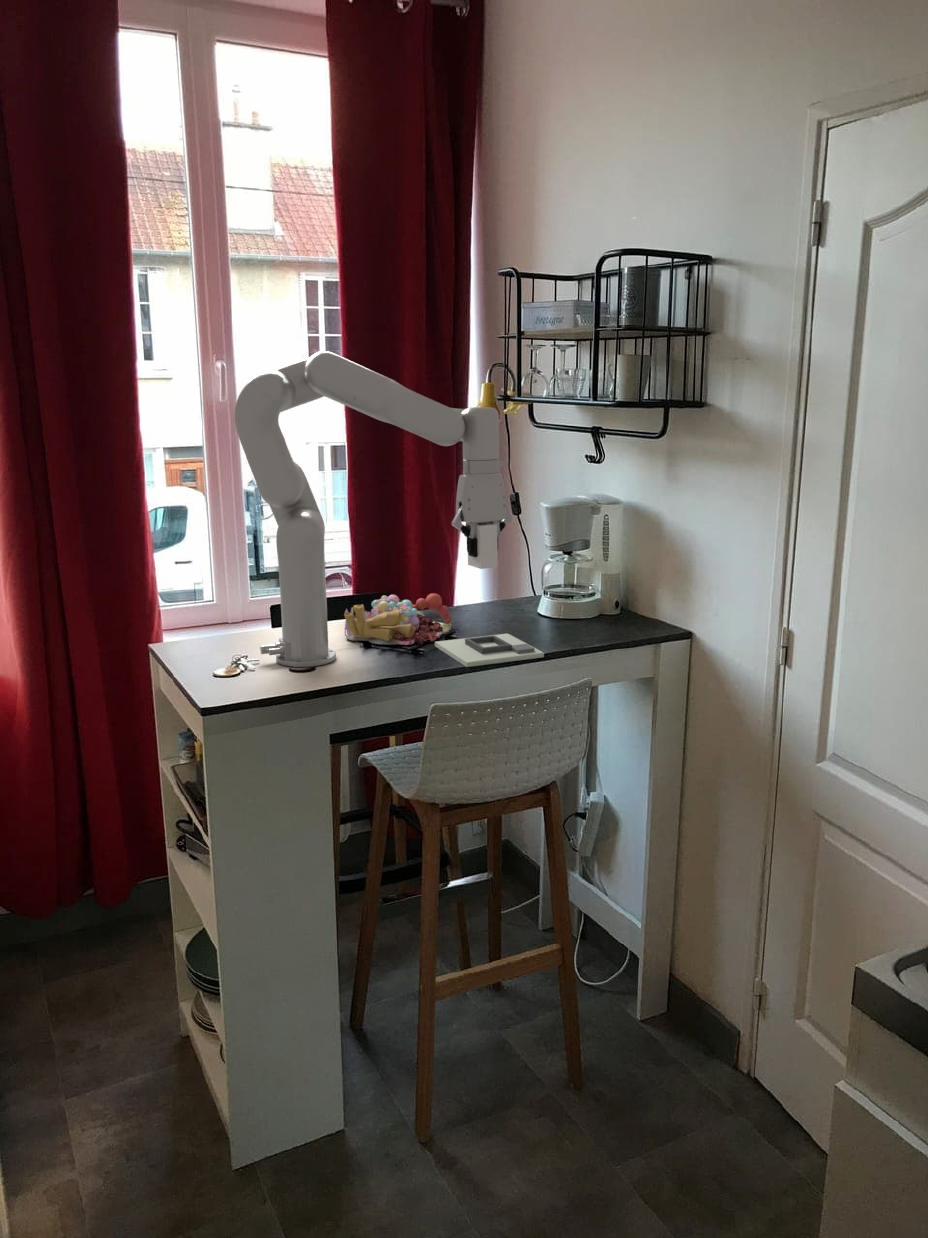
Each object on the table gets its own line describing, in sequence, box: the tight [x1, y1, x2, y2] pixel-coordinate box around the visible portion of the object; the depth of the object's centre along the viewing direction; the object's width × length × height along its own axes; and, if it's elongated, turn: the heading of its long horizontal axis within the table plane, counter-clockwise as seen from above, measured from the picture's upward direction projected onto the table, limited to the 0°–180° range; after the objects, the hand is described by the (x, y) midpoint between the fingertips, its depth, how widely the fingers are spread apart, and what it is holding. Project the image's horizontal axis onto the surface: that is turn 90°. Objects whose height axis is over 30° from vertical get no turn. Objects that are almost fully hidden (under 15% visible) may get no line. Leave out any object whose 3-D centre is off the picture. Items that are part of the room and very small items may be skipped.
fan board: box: [434, 633, 545, 668], centre depth 212 cm, size 18×18×2 cm
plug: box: [467, 523, 499, 570], centre depth 206 cm, size 6×4×11 cm, turn 27°
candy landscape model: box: [343, 592, 452, 646], centre depth 228 cm, size 25×24×9 cm
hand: (482, 554), depth 206 cm, fingers closed on plug, 4 cm apart
